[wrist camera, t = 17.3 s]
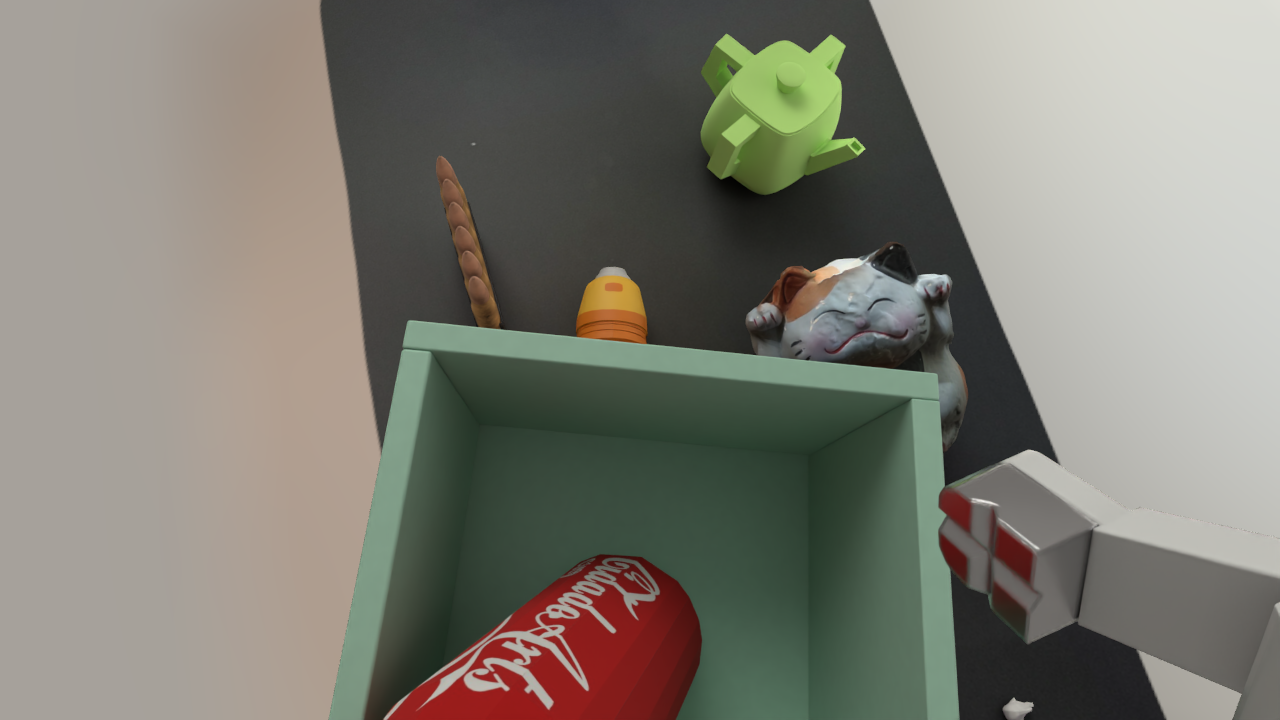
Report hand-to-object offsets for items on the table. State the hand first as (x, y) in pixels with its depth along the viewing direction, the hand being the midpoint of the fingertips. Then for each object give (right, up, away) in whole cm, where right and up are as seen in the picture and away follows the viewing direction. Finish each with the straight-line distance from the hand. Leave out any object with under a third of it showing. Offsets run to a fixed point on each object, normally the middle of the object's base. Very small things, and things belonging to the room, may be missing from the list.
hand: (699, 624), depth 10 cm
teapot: (+10, +22, +51) cm, 56 cm away
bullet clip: (-13, +9, +44) cm, 47 cm away
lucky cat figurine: (+14, +1, +44) cm, 46 cm away
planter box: (-1, -6, +16) cm, 17 cm away
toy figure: (-3, +4, +44) cm, 44 cm away
